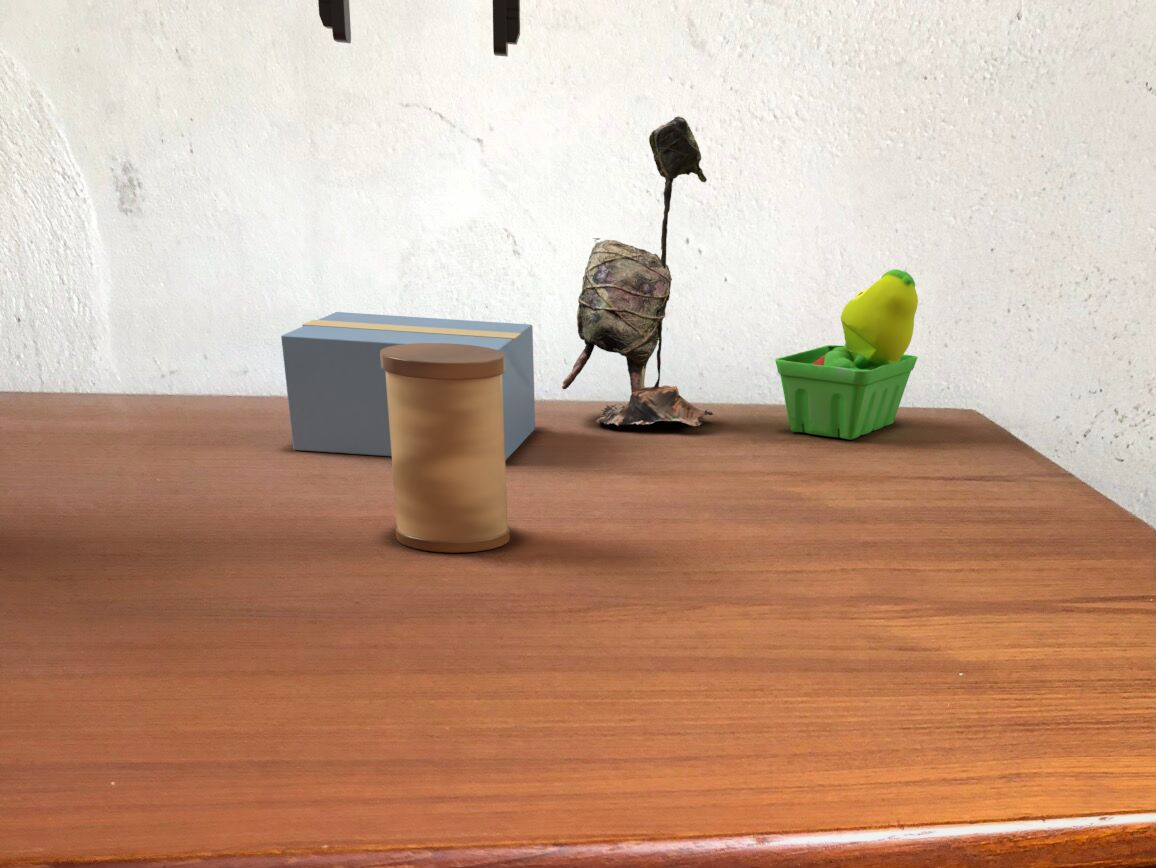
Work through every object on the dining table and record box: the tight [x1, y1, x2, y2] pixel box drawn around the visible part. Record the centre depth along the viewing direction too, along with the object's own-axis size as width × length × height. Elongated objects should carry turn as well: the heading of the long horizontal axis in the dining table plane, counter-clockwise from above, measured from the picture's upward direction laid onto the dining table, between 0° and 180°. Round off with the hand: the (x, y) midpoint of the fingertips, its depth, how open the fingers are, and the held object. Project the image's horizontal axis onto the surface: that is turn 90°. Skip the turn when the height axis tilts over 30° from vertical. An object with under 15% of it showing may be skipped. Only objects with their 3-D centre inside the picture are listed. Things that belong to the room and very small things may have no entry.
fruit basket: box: [775, 268, 919, 441], centre depth 113 cm, size 11×9×11 cm
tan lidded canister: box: [380, 343, 511, 554], centre depth 81 cm, size 6×6×10 cm
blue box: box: [280, 311, 536, 462], centre depth 103 cm, size 14×12×7 cm
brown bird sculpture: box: [561, 115, 715, 427], centre depth 108 cm, size 8×11×20 cm
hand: (421, 48), depth 82 cm, fingers open, 8 cm apart
